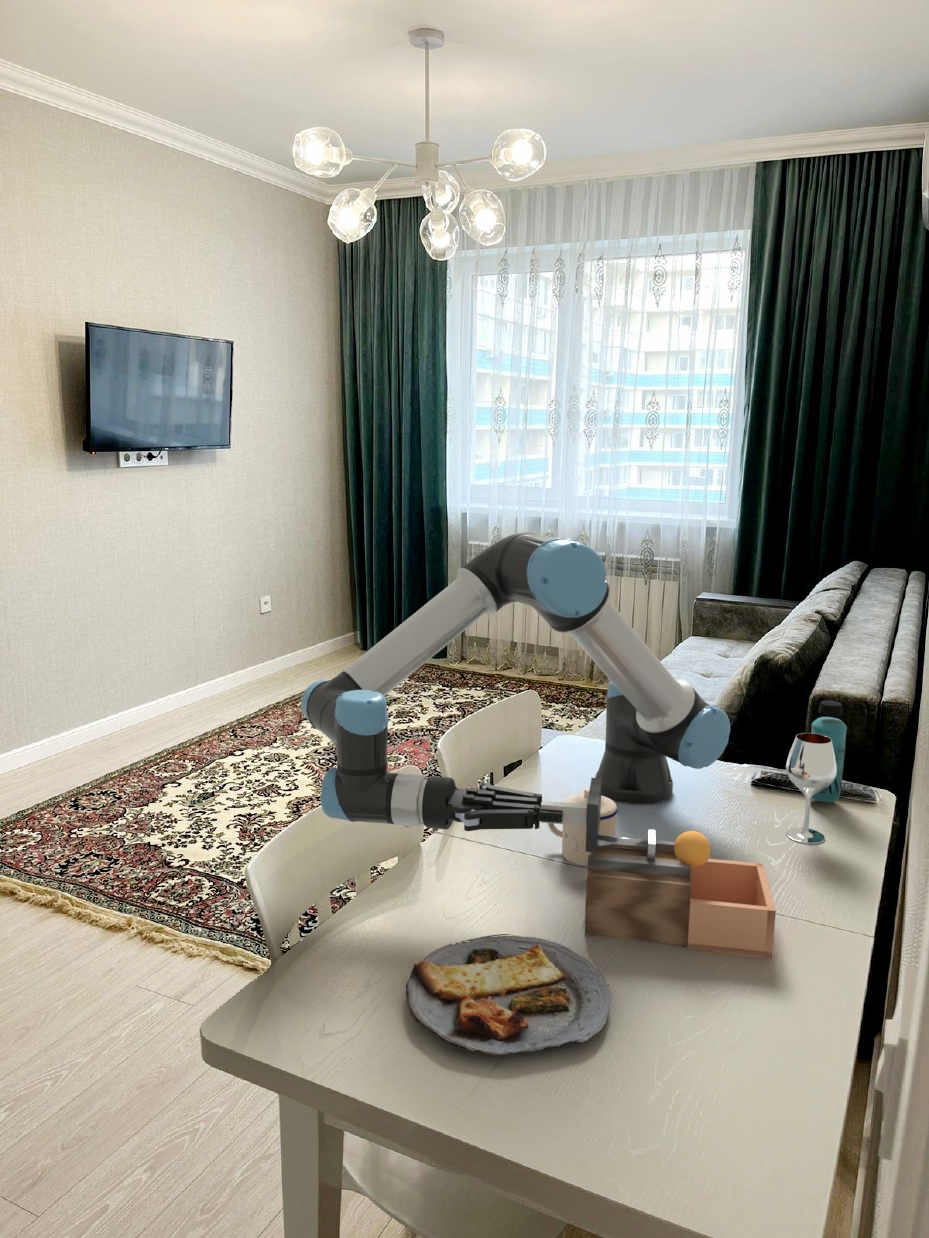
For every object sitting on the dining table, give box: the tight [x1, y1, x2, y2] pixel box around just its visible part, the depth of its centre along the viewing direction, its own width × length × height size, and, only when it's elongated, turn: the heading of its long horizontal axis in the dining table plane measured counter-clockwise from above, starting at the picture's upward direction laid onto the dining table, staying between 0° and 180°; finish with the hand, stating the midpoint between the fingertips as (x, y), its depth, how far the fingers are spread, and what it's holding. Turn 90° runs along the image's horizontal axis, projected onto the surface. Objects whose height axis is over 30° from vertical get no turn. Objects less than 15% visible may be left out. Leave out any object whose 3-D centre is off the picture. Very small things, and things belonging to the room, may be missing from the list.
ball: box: [674, 830, 712, 868], centre depth 129 cm, size 5×5×5 cm
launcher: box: [584, 840, 691, 947], centre depth 131 cm, size 14×12×10 cm
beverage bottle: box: [810, 700, 848, 803], centre depth 173 cm, size 6×7×20 cm
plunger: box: [586, 777, 656, 862], centre depth 130 cm, size 10×10×9 cm
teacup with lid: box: [546, 787, 619, 867], centre depth 152 cm, size 12×9×12 cm
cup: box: [686, 858, 777, 960], centre depth 129 cm, size 11×14×7 cm
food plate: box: [405, 933, 612, 1056], centre depth 113 cm, size 25×23×4 cm
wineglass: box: [785, 732, 837, 845], centre depth 158 cm, size 8×8×18 cm
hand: (586, 815), depth 130 cm, fingers closed
